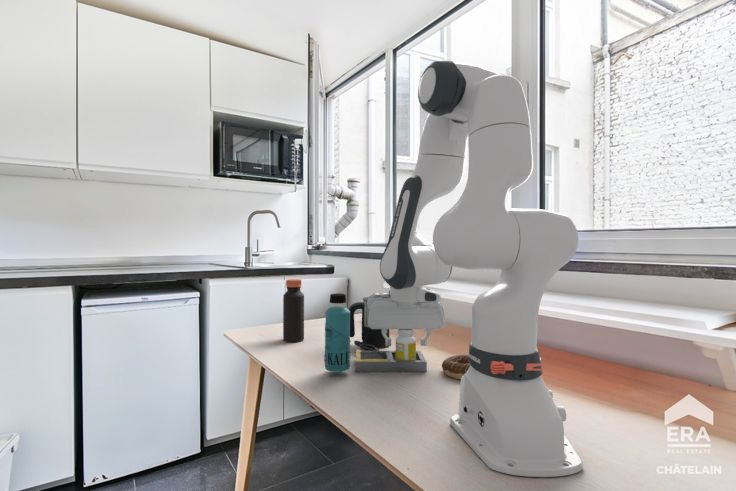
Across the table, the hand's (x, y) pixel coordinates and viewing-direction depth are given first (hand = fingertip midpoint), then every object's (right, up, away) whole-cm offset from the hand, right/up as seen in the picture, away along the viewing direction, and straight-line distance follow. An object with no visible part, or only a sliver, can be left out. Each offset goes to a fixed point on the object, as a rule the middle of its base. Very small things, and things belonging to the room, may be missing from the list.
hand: (405, 345), depth 101 cm
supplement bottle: (0, -6, 0) cm, 6 cm away
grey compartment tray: (-4, -5, 0) cm, 7 cm away
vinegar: (-35, -5, +25) cm, 43 cm away
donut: (+14, -6, -6) cm, 16 cm away
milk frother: (-9, -5, +16) cm, 19 cm away
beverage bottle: (-18, -6, -7) cm, 20 cm away
